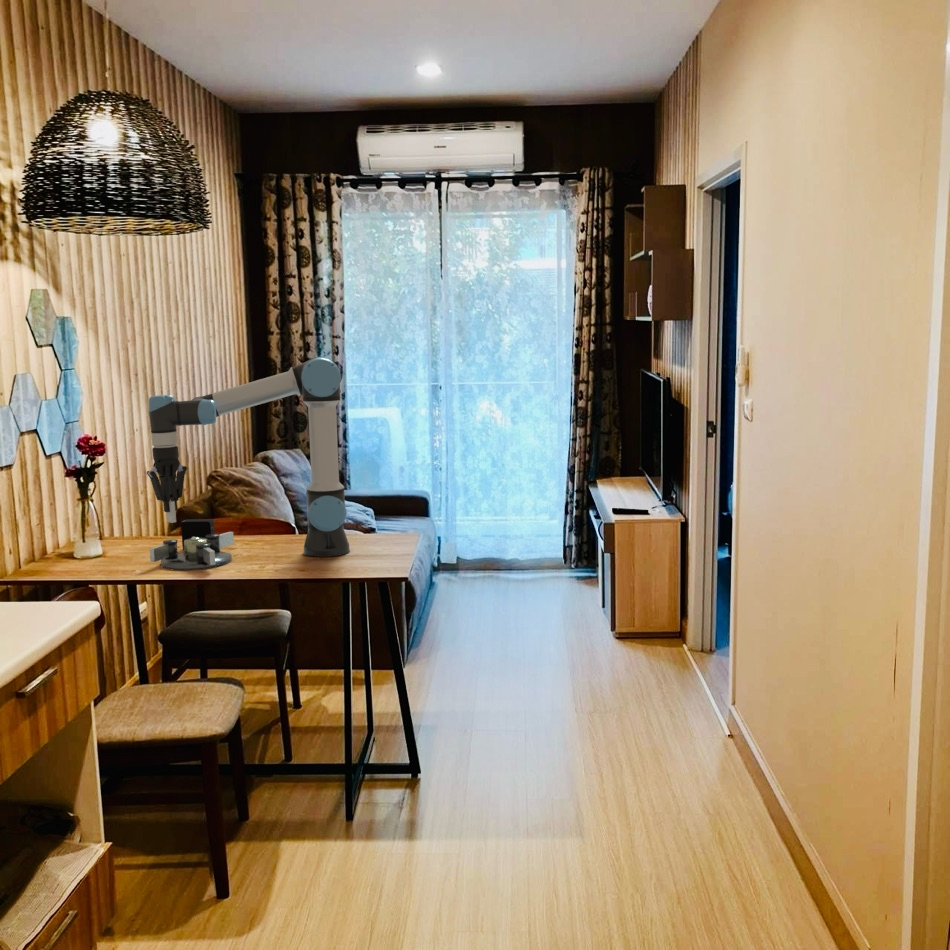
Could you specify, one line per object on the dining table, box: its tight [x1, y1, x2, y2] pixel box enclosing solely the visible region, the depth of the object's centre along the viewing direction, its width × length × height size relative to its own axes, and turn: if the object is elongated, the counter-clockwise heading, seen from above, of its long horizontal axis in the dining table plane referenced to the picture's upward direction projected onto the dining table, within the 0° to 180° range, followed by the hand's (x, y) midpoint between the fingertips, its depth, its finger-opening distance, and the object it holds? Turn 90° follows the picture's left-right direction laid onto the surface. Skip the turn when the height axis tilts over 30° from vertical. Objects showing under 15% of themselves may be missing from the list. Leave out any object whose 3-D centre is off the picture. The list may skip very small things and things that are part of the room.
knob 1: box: [149, 538, 179, 563], centre depth 307 cm, size 11×4×6 cm, turn 159°
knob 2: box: [196, 543, 215, 565], centre depth 301 cm, size 11×4×6 cm, turn 33°
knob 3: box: [206, 531, 235, 553], centre depth 321 cm, size 11×4×6 cm, turn 153°
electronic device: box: [180, 518, 215, 551], centre depth 330 cm, size 4×10×10 cm, turn 89°
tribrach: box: [160, 537, 233, 571], centre depth 311 cm, size 22×22×8 cm
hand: (171, 521), depth 298 cm, fingers closed
